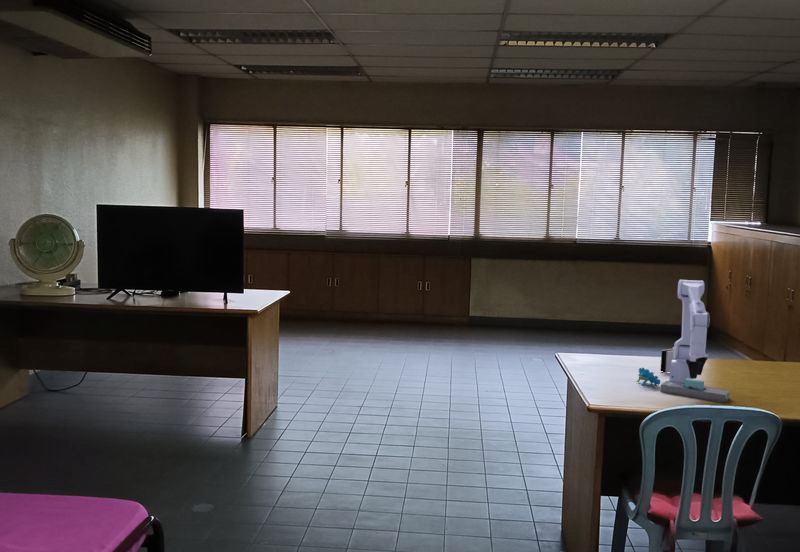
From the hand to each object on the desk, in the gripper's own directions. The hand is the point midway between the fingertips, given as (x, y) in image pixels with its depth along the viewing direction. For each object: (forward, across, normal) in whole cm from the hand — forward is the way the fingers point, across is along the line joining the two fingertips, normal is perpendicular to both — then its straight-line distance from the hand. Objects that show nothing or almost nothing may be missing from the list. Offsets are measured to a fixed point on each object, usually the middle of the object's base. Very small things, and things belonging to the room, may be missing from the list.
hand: (695, 376), depth 272 cm
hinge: (+8, +39, +20) cm, 44 cm away
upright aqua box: (+8, 0, 0) cm, 8 cm away
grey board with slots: (+8, 0, 0) cm, 8 cm away
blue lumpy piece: (+8, +4, +20) cm, 21 cm away
